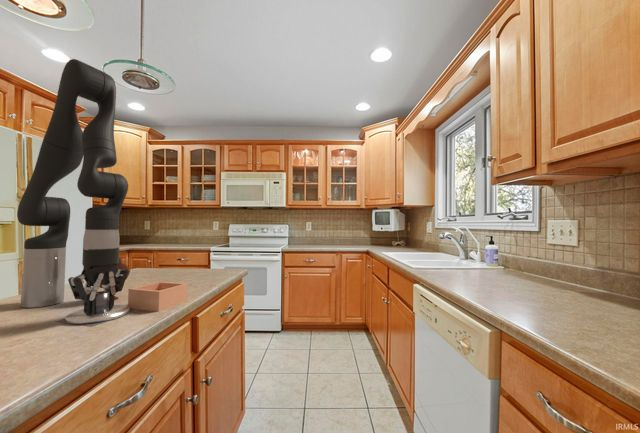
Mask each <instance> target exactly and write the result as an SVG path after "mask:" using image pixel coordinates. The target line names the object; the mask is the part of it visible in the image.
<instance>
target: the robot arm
mask: <svg viewBox="0 0 640 433" xmlns="http://www.w3.org/2000/svg"><path fill="white" fill-rule="evenodd" d="M57 90H58V91H57V95H56V100H55V103H54V108H53V111H52V114H51V118H50V120H49V123H48V126H47V128H46V131H45V133H44V137H43V139H42V142H41V145H40V149H39V152H38V156H37V158H36V163H35V166H34V169H33V172H32V175H31V176H30V179H29V181H28V184H27V185H26V188H25V190H24V192H23V194H22V197H21V199H20V200H19V204H18V208H17V212H16V216H17V220H18V222H19V223H20V224H21V225H23V226H28V227H48V229H47V231H45V232H43V233H41V234H39V235H36V236H32V237H30V238H27V239H25V240H24V243H23V268H22V274H21V292H20V305H21V307H22V308H27V309H28V308H29V309H30V308H41V307H47V306H53V305H57V304H60V303H63V302H64V301H65V289H66V288H65V284H66V283H65V281H66V280H65V278H66V259H67V258H66V254H67V241H68V239H69V238H68V237H69V229H70V228H69V227H70V219H71V205H70V203H69V201H68V200H67V199H66V198H65V197H64V198H63V197H56V196H47V194H48V193H49V191H50V190H51V188H52V187H53V186H55V185H56V184H57V183H58V182H59V181H61V180H63V179H64V178H65V177H67V176H69V175H70V174H71V173H73V172H74V171H75V170H76V169H78V168H79V166H80V165H81V163H82V166H81V170H80V173H79V176H78V178H77V189H78V191H79V192H80V194H81V195H83V196H84V197H86V198H97V199H108V200H107V202H106V203H105V204H104V205H101V206H94V207H93V206H92V207H89V208H87V209H86V211H85V217H84V218H85V222H84V223H85V224H84V225H85V226H84V235H83V240H82V267H83V269H82V271H81V274H79V275H77V276H74V277H73V276H71V277H69V278H68V279H67V280H68V283H69V286H70V289H71V292H72V295H73V297H74V299H75V300H80V301H83V309H84V313H86V315H94V314H95V300H94V298H95V295H96V292H99V290H100V286H101V285H102V287H103V288H102V289H103V291H109V292H110V298H109V310H111V309H112V308H113V306H114V305H115V300H114V296H115V295H116V294H117V293H119V292H122V290H123V288H124V286H125V282H126V280H127V279H126V277H127V274H128V270H120V269H118V267H117V263H118V262H119V257H120V241H121V240H120V231H119V229H120V227H119V226H120V215H121V214H120V213H121V210H122V207H123V205H124V202H125V199H126V197H127V195H128V190H129V183H128V179H127V178H126V177H125V176H124V175H122V174H120V173H113V172H108V171H107V172H106V171H99V170H98V169H106V168H107V169H108V168H112V167H114V166H115V165H117V159H118V158H117V152H116V151H117V150H116V142H115V135H114V134H115V130H114V129H115V118H116V104H117V103H116V101H117V100H116V99H117V87H116V81H115V79H114V77H112V76H111V74H108V73H106V72H104V71H102V70H100V69H98V68H96V67H94V66H91V65H90V64H88V63H87V62H84V61H82V60H78V59H77V58H76V59H75V58H72V59H69V60H68V61H67V62H66V63H65V65H64V67H63V70H62V73H61V77H60V81H59V84H58V89H57ZM78 97H79V98H82V99H85V100H87V101H90V102H93V103H96V104H97V106H98V110H97V111H98V112H97V114H96V116H95V117H94V118H93V119H92V120H91V121H89V123H88V124H87V125H86V126H85V128H84V129H82V127H81V124H80V122H79V118H78V116H77V107H76V106H77V101H78ZM115 276H116V277H115ZM114 277H115V280H114ZM127 278H128V277H127ZM84 281H85V282H84ZM83 284H84V285H83ZM118 284H119V285H118Z"/></svg>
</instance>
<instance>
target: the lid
mask: <svg viewBox="0 0 640 433" xmlns="http://www.w3.org/2000/svg"><path fill="white" fill-rule="evenodd" d="M109 298H110V292H109V291H104V290H101V291H99V290H98V291H97V292H96V295H95V298H94V300H95V314H94V315H86V313H84V308H83V309H80V310H76V311H73V312H71V313H69V314H67V315H66V316H65V319H66V322H67V323H66V324H69V323H70V324H69V325H76V324H88V323H96V322H102V321H107V320H111V321H113V320H112V319H114V320H116V319H115V318H117V319H119V318H118V317H120V318H122V317H121V316H123V317H125V316H124V315H126V314H127V313H129V310H130V309H131V308H129V307H128V305H126V304H125V305H124V304H114V306H113V308H112V309H111V310H109ZM126 316H127V315H126Z"/></svg>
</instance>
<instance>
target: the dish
mask: <svg viewBox="0 0 640 433" xmlns="http://www.w3.org/2000/svg"><path fill="white" fill-rule="evenodd" d="M127 290H128V291H127V292H128V296H127V306H128V307H129V308H130V309H131V310H132V309H133V310H141V311H151V312H162V311H164V310H166V309H170V308H172V307H175V306H177V305H180V304H183V303H186V302H188V296H189V283H182V282H181V283H180V282H171V281H169V282H168V281H158V282H152V283H149V284H145V285H141V286H136V287H132V288H128V289H127Z"/></svg>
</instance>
